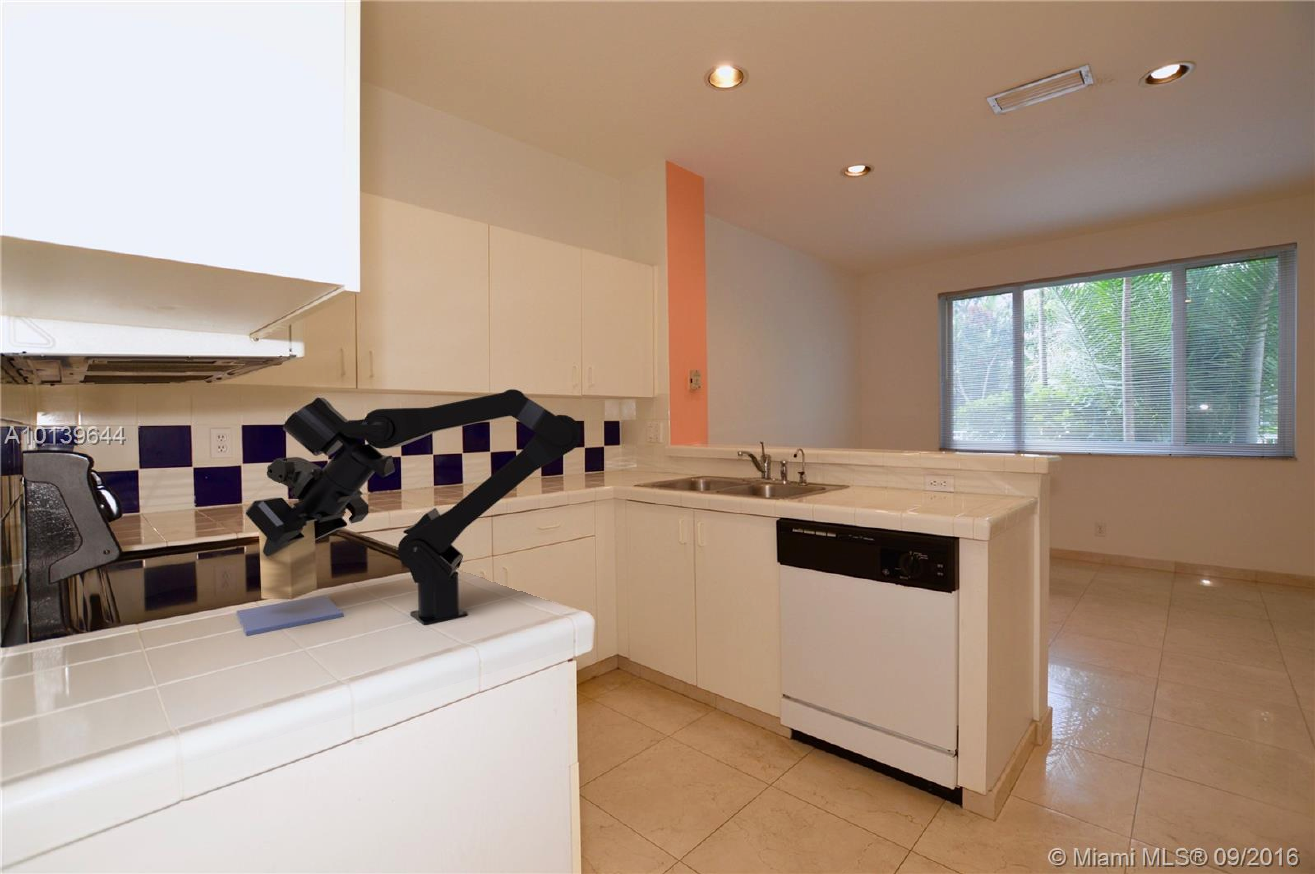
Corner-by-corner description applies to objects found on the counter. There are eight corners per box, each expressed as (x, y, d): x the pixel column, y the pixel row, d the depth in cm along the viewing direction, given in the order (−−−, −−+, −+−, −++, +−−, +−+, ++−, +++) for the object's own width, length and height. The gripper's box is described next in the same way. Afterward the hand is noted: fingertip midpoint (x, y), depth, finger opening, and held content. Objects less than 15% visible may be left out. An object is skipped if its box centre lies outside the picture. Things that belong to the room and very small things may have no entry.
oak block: (316, 589, 92) (314, 511, 92) (291, 599, 87) (288, 517, 87) (288, 588, 93) (285, 511, 92) (261, 598, 88) (258, 516, 88)
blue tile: (343, 616, 89) (343, 612, 89) (246, 635, 82) (246, 631, 82) (325, 598, 98) (325, 595, 98) (236, 614, 91) (236, 610, 91)
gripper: (350, 436, 98) (293, 503, 100) (255, 440, 79) (187, 522, 82) (395, 484, 97) (336, 551, 99) (310, 500, 78) (240, 581, 80)
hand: (280, 550), depth 90 cm, fingers closed on oak block, 5 cm apart
